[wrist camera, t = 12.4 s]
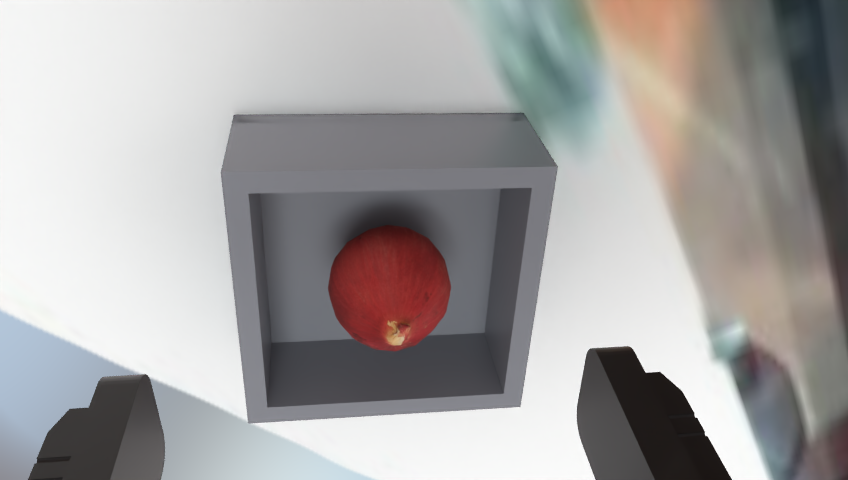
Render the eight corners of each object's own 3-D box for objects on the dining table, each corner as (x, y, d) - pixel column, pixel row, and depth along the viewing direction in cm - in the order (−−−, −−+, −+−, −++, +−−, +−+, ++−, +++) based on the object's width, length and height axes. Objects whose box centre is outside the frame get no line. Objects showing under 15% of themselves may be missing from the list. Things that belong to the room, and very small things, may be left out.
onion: (446, 277, 40) (474, 378, 33) (343, 302, 40) (350, 407, 33) (427, 185, 37) (453, 275, 30) (314, 211, 37) (315, 308, 30)
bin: (523, 113, 37) (557, 166, 32) (496, 334, 44) (520, 406, 39) (233, 115, 35) (220, 172, 30) (255, 346, 42) (248, 423, 37)
